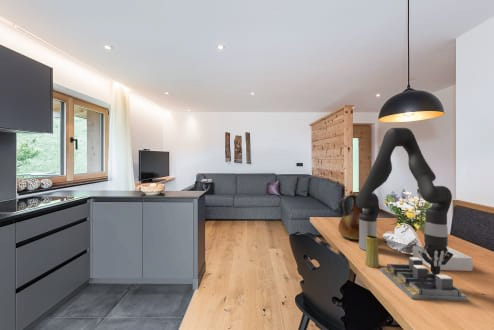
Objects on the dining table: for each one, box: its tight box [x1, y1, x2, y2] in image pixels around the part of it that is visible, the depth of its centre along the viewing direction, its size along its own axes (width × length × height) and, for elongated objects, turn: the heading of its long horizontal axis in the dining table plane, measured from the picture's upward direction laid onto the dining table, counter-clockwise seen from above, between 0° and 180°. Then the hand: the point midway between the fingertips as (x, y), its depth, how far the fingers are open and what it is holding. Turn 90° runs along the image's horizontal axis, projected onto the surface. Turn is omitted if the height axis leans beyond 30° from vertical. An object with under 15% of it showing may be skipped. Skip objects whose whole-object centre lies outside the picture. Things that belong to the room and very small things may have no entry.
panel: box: [380, 263, 468, 302], centre depth 95 cm, size 22×20×4 cm
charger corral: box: [412, 245, 474, 272], centre depth 114 cm, size 15×18×6 cm
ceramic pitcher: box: [338, 193, 364, 241], centre depth 153 cm, size 20×20×30 cm
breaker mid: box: [413, 264, 429, 278], centre depth 95 cm, size 3×4×6 cm
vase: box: [364, 235, 380, 269], centre depth 113 cm, size 6×6×14 cm
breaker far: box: [408, 256, 423, 269], centre depth 103 cm, size 3×4×6 cm
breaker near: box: [436, 274, 454, 290], centre depth 87 cm, size 3×4×6 cm
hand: (435, 273), depth 95 cm, fingers closed
